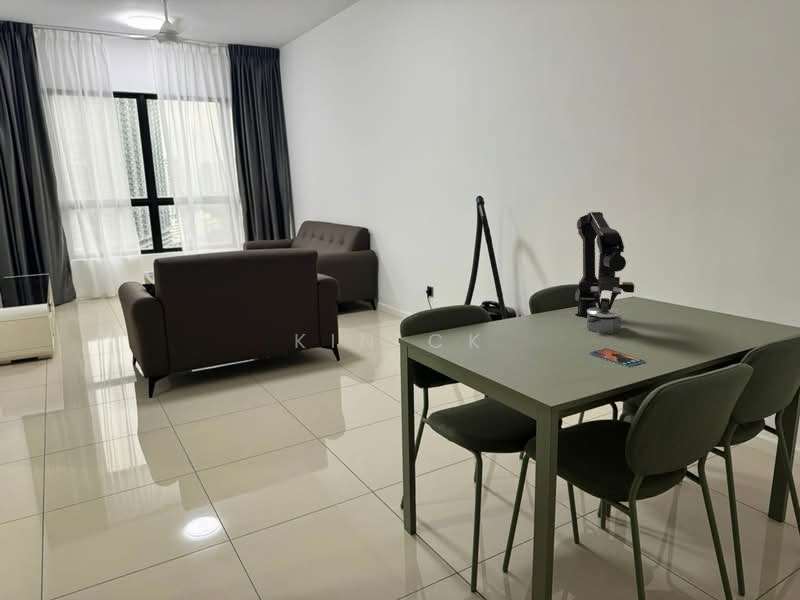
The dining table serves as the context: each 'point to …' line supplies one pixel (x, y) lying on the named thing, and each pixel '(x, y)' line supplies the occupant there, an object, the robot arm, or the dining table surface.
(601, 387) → the dining table surface
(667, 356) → the dining table surface
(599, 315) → the lid
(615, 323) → the pot
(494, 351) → the dining table surface
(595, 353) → the smartphone
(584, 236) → the robot arm
